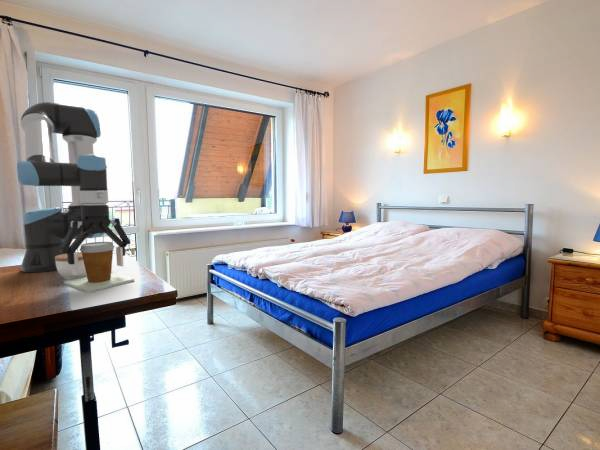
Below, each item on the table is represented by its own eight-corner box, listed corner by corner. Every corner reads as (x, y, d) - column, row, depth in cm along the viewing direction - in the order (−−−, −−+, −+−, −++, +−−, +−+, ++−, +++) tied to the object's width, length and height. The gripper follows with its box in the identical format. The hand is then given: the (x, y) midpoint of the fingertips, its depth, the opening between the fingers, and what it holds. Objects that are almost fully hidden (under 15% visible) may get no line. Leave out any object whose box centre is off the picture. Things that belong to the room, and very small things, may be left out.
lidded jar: (74, 281, 105) (72, 253, 104) (48, 280, 107) (45, 252, 106) (101, 273, 115) (99, 248, 114) (76, 272, 118) (74, 247, 117)
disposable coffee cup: (116, 275, 110) (114, 240, 109) (116, 281, 102) (113, 244, 101) (83, 278, 106) (81, 242, 104) (80, 285, 97) (77, 247, 96)
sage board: (64, 283, 102) (64, 281, 102) (109, 274, 114) (109, 272, 114) (88, 292, 94) (87, 289, 94) (134, 281, 105) (134, 278, 105)
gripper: (53, 206, 89) (58, 280, 91) (139, 203, 110) (142, 263, 112) (42, 205, 93) (48, 276, 95) (127, 203, 114) (130, 261, 116)
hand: (99, 269), depth 104 cm, fingers open, 13 cm apart
